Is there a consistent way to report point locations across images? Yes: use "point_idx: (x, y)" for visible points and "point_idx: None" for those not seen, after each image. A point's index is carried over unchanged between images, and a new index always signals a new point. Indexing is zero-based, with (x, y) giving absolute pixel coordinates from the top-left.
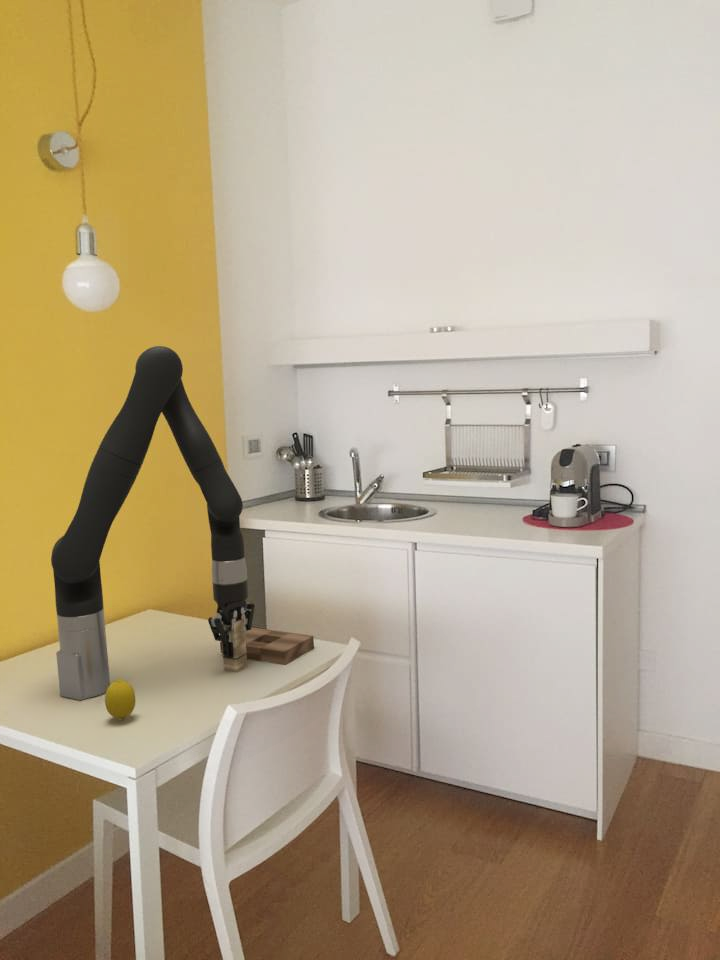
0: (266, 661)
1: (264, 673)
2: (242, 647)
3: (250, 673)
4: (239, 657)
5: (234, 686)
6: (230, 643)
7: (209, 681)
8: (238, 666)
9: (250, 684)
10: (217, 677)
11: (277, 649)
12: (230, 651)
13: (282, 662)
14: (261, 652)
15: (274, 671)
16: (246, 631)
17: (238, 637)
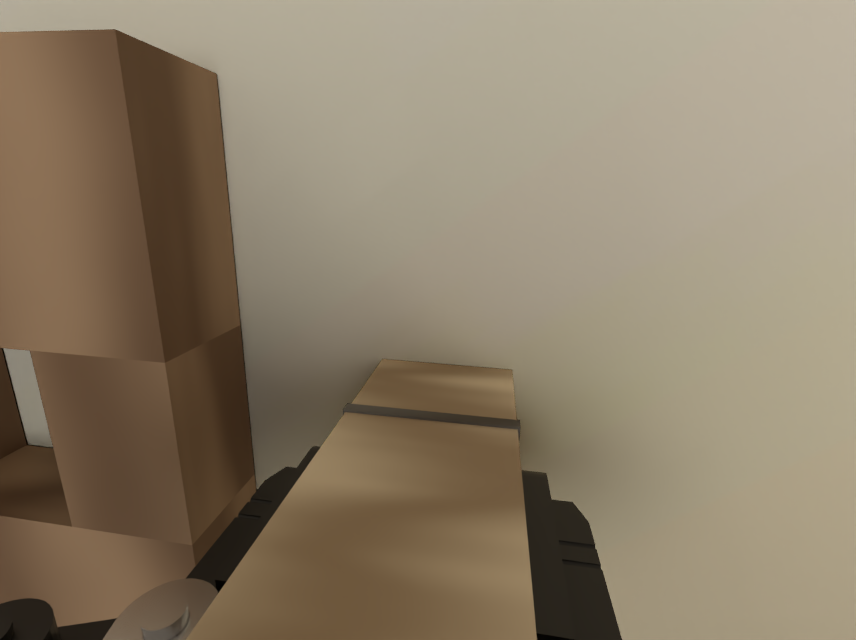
0: (233, 273)
1: (457, 127)
2: (381, 464)
3: (499, 251)
4: (465, 418)
5: (848, 199)
6: (574, 627)
7: (763, 468)
8: (491, 384)
9: (764, 74)
10: (661, 454)
11: (100, 163)
12: (555, 532)
13: (207, 96)
14: (191, 338)
15: (381, 65)
16: (120, 620)
17: (421, 618)
